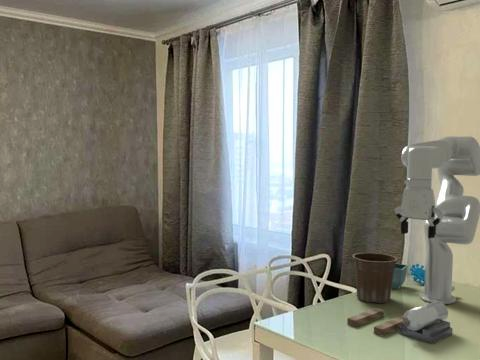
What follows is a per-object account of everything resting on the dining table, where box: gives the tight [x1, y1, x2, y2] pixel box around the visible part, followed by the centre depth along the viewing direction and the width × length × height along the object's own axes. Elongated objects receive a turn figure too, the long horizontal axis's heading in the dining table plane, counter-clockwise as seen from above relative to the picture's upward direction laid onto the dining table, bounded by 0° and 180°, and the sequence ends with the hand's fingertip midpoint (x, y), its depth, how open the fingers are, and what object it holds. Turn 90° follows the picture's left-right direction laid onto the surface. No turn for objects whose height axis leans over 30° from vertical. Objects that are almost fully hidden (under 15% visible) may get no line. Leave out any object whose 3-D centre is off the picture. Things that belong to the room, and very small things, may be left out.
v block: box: [398, 320, 453, 345], centre depth 154 cm, size 12×11×4 cm
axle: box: [402, 302, 449, 331], centre depth 154 cm, size 16×6×6 cm, turn 131°
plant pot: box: [352, 252, 398, 304], centre depth 189 cm, size 16×16×16 cm
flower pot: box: [391, 263, 409, 290], centre depth 205 cm, size 9×9×9 cm
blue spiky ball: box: [409, 263, 425, 286], centre depth 213 cm, size 11×6×10 cm
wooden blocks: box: [346, 307, 404, 337], centre depth 162 cm, size 16×13×2 cm
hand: (417, 235), depth 167 cm, fingers open, 9 cm apart
